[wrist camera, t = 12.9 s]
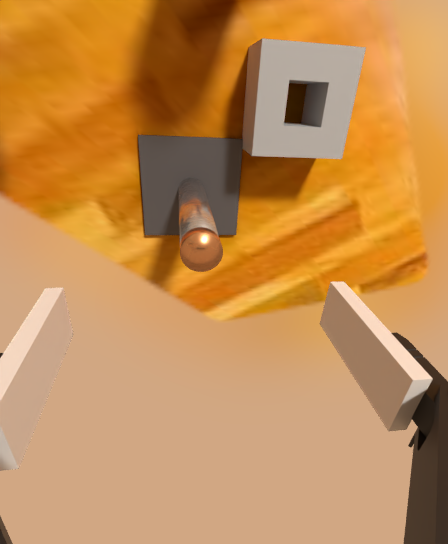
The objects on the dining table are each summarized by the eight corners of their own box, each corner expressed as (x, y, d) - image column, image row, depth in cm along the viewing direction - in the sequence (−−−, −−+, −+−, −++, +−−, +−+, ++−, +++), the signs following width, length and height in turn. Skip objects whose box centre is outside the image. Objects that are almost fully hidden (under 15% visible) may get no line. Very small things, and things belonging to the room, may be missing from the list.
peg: (176, 179, 39) (177, 235, 23) (202, 176, 39) (221, 230, 23) (180, 205, 40) (183, 274, 25) (205, 202, 41) (224, 268, 25)
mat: (145, 233, 42) (145, 235, 42) (138, 134, 36) (138, 135, 36) (235, 233, 44) (235, 234, 43) (242, 138, 38) (243, 139, 38)
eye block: (241, 147, 39) (251, 155, 33) (248, 47, 34) (262, 38, 29) (319, 150, 40) (341, 158, 35) (337, 54, 35) (365, 47, 30)
